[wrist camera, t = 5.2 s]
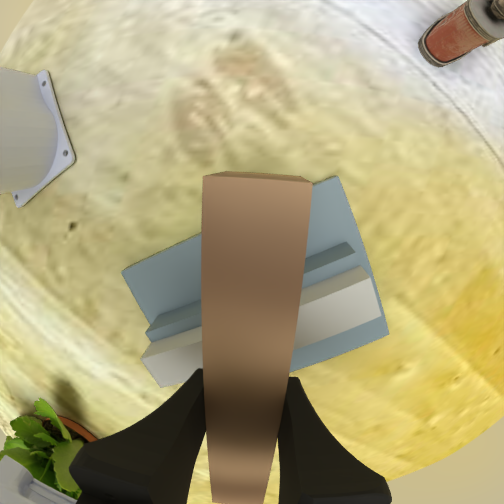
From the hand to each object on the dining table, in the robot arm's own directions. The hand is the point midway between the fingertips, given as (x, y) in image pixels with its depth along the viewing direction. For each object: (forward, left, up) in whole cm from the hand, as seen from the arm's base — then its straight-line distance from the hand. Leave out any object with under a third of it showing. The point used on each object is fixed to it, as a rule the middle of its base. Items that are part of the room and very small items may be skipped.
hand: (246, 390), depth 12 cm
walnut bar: (0, 0, -2) cm, 2 cm away
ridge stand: (0, 0, -9) cm, 9 cm away
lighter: (-13, +22, -10) cm, 27 cm away
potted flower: (+11, -30, -10) cm, 33 cm away
